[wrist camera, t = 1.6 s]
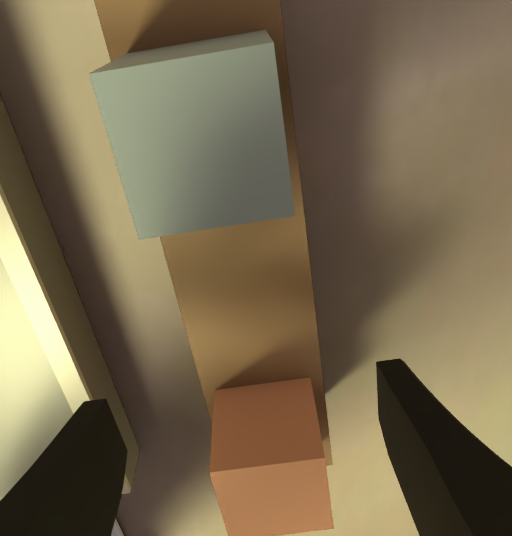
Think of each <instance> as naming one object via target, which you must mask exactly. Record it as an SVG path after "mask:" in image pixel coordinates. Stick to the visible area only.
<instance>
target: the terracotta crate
mask: <svg viewBox="0 0 512 536" xmlns="http://www.w3.org/2000/svg"><path fill="white" fill-rule="evenodd" d="M209 474H210V477H211V480H212V484H213V487H214V490H215V493H216V497H217V500H218V503H219V507H220V510H221V513H222V517H223V520H224V523H225V527H226V530H227V533H228V536H276V535H284V534H293V533H301V532H310V531H318V530H326V529H334V527H333V519H332V510H331V502H330V494H329V486H328V478H327V470H326V462H325V455H324V450H323V444H322V439H321V433H320V427H319V422H318V416H317V411H316V405H315V400H314V394H313V389H312V383H311V378H310V377H309V378H302V379H294V380H287V381H279V382H272V383H265V384H257V385H250V386H242V387H235V388H227V389H220V390H215V392H214V407H213V422H212V437H211V452H210V468H209Z"/></svg>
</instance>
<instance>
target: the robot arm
mask: <svg viewBox="0 0 512 536" xmlns="http://www.w3.org/2000/svg"><path fill="white" fill-rule="evenodd" d="M376 367H377V391H378V415H379V421H380V425H381V429H382V433H383V437H384V441H385V444H386V448H387V452H388V455H389V458H390V461H391V463H392V466H393V468H394V471H395V474H396V476H397V479H398V481H399V484H400V487H401V489H402V492H403V494H404V497H405V499H406V502H407V505H408V507H409V510H410V512H411V515H412V517H413V520H414V523H415V525H416V528H417V530H418V533H419V535H420V536H512V467H511V466H510V465H509V464H508V463H506V462H505V461H504V460H503V459H501V458H500V457H499V456H498V455H496V454H495V453H494V452H493V451H492V450H490V449H489V448H488V447H487V446H486V445H485V444H483V443H482V442H481V441H480V440H479V439H478V438H477V437H476V436H475V435H473V434H472V433H471V432H470V431H469V430H468V429H467V428H466V427H465V426H464V425H463V424H461V423H460V422H459V421H458V420H457V419H456V418H455V417H454V416H453V415H452V414H451V413H450V412H449V411H448V410H447V409H446V408H445V407H444V406H443V405H442V404H441V403H440V402H439V401H438V400H437V399H436V398H435V396H434V395H433V394H432V393H431V392H430V391H429V390H428V389H427V388H426V387H425V386H424V384H423V383H422V382H421V381H420V380H419V379H418V378H417V377H416V375H415V374H414V373H413V372H412V371H411V369H410V368H409V367H408V366H407V365H406V363H405V362H404V361H403V360H401V359H393V360H386V361H378V362H376ZM127 452H128V450H127V448H126V445H125V443H124V440H123V438H122V436H121V433H120V431H119V428H118V426H117V424H116V421H115V419H114V416H113V414H112V411H111V409H110V407H109V404H108V402H107V399H106V398H105V399H97V400H90V401H84V402H83V403H82V404H81V406H80V407H79V408H78V409H77V410H76V412H75V413H74V414H73V415H72V417H71V418H70V419H69V420H68V422H67V423H66V424H65V425H64V427H63V428H62V429H61V430H60V432H59V433H58V434H57V435H56V437H55V438H54V439H53V440H52V442H51V443H50V444H49V445H48V447H47V448H46V449H45V450H44V451H43V453H42V454H41V455H40V456H39V457H38V459H37V460H36V461H35V462H34V463H33V465H32V466H31V467H30V468H29V469H28V470H27V472H26V473H25V474H24V475H23V476H22V477H21V478H20V479H19V481H18V482H17V483H16V484H15V485H14V486H13V487H12V488H11V490H10V491H9V492H8V493H7V494H6V495H5V496H4V497H3V499H2V500H1V501H0V536H124V535H123V533H122V531H121V529H120V527H119V524H118V522H117V520H116V514H117V510H118V506H119V502H120V498H121V494H122V490H123V484H124V477H125V470H126V461H127Z"/></svg>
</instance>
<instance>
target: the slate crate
mask: <svg viewBox="0 0 512 536" xmlns="http://www.w3.org/2000/svg"><path fill="white" fill-rule="evenodd" d="M89 76H90V80H91V83H92V86H93V90H94V93H95V96H96V99H97V103H98V106H99V109H100V113H101V116H102V119H103V123H104V126H105V129H106V133H107V136H108V139H109V142H110V146H111V149H112V152H113V156H114V159H115V162H116V166H117V169H118V172H119V176H120V179H121V182H122V185H123V189H124V192H125V195H126V199H127V202H128V205H129V209H130V212H131V215H132V219H133V222H134V225H135V228H136V232H137V235H138V238H139V240H140V239H147V238H153V237H160V236H166V235H173V234H179V233H186V232H193V231H199V230H206V229H212V228H219V227H226V226H232V225H239V224H245V223H252V222H258V221H265V220H272V219H278V218H285V217H291V216H295V211H294V203H293V195H292V187H291V179H290V170H289V162H288V154H287V146H286V138H285V130H284V122H283V114H282V106H281V98H280V89H279V81H278V73H277V65H276V57H275V49H274V42H273V41H272V39H271V37H270V36H269V34H268V33H267V31H266V30H260V31H255V32H249V33H243V34H237V35H231V36H226V37H220V38H214V39H208V40H202V41H196V42H191V43H185V44H179V45H173V46H167V47H162V48H156V49H150V50H144V51H138V52H132V53H127V54H125V55H123V56H121V57H119V58H117V59H115V60H114V61H112V62H110V63H108V64H106V65H104V66H102V67H101V68H99V69H97V70H95V71H93V72H91V73H89Z"/></svg>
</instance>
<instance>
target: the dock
mask: <svg viewBox="0 0 512 536" xmlns="http://www.w3.org/2000/svg"><path fill="white" fill-rule="evenodd" d="M105 398H106V399H107V402H108V404H109V407H110V409H111V411H112V414H113V416H114V419H115V421H116V424H117V426H118V428H119V431H120V433H121V436H122V438H123V440H124V443H125V445H126V448H127V450H128V452H127V461H126V470H125V477H124V484H123V490H122V494H128V493H130V492H131V487H132V483H133V478H134V474H135V469H136V465H137V460H138V456H139V451H140V449H139V446H138V443H137V441H136V438H135V436H134V433H133V431H132V428H131V426H130V423H129V421H128V418H127V416H126V413H125V410H124V408H123V405H122V403H121V400H120V398H119V395H118V393H117V390H116V388H115V385H114V382H113V380H112V377H111V375H110V372H109V370H108V367H107V365H106V362H105V360H104V357H103V355H102V352H101V349H100V347H99V344H98V342H97V339H96V337H95V334H94V332H93V329H92V327H91V324H90V321H89V319H88V316H87V314H86V311H85V309H84V306H83V304H82V301H81V299H80V296H79V294H78V291H77V288H76V286H75V283H74V281H73V278H72V276H71V273H70V271H69V268H68V266H67V263H66V261H65V258H64V255H63V253H62V250H61V248H60V245H59V243H58V240H57V238H56V235H55V233H54V230H53V227H52V225H51V222H50V220H49V217H48V215H47V212H46V210H45V207H44V205H43V202H42V200H41V197H40V194H39V192H38V189H37V187H36V184H35V182H34V179H33V177H32V174H31V172H30V169H29V166H28V164H27V161H26V159H25V156H24V154H23V151H22V149H21V146H20V144H19V141H18V139H17V136H16V133H15V131H14V128H13V126H12V123H11V121H10V118H9V116H8V113H7V111H6V108H5V106H4V103H3V100H2V98H1V95H0V501H1V500H2V499H3V497H4V496H5V495H6V494H7V493H8V492H9V491H10V490H11V488H12V487H13V486H14V485H15V484H16V483H17V482H18V481H19V479H20V478H21V477H22V476H23V475H24V474H25V473H26V472H27V470H28V469H29V468H30V467H31V466H32V465H33V463H34V462H35V461H36V460H37V459H38V457H39V456H40V455H41V454H42V453H43V451H44V450H45V449H46V448H47V447H48V445H49V444H50V443H51V442H52V440H53V439H54V438H55V437H56V435H57V434H58V433H59V432H60V430H61V429H62V428H63V427H64V425H65V424H66V423H67V422H68V420H69V419H70V418H71V417H72V415H73V414H74V413H75V412H76V410H77V409H78V408H79V407H80V406H81V404H82V403H83V402H84V401H90V400H97V399H105Z"/></svg>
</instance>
